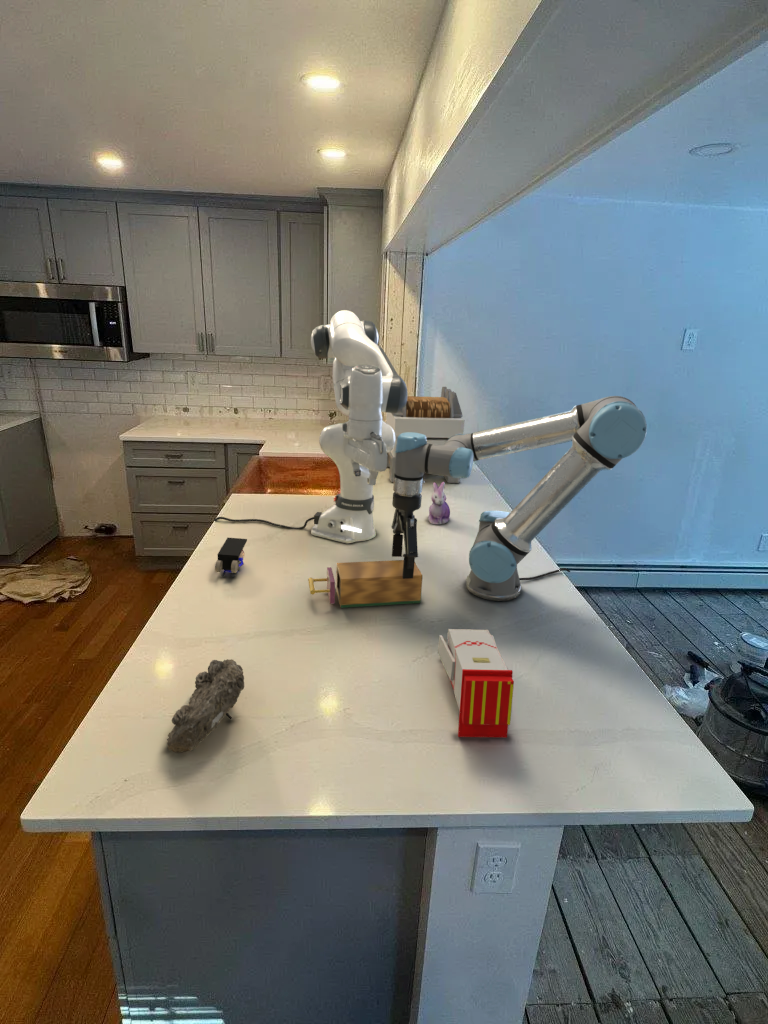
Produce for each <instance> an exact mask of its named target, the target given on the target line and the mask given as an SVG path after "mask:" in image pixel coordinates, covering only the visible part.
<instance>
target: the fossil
mask: <svg viewBox="0 0 768 1024" xmlns="http://www.w3.org/2000/svg"><path fill="white" fill-rule="evenodd" d="M243 670H244V669H243V667H242V665H240V664H237V662H236V661H235V660H234V659H232V658H231V659H227V658H226V659H224V660H223V661H222V660H217V659H212V660H211V661H210V663H209V665H208V666H207V671H201V672H199V673H198V674H197V675H196V676H195V680H194V684H195V685H194V687H195V689H194V690H193V693H192V694H191V697H190V698H189V700H188V704H184V705H182V706H181V707H180V709H177V710H176V711H175V713H174V715H173V716H172V718H171V723H172V724H173V727H172V730H171V731H170V732H168V734H167V738H166V741H167V742H166V745H167V749H168V750H169V751H173V752H174V753H176V754H178V753H182V752H188V751H189V752H192V751H193V750H195V748H196V747H197V746H199V744H200V743H201V742H203V741H204V740H205V739H206V738H207V737H208V736H209V735H210V734H211V733H212V732H214V730H215V729H217V727H218V726H219V724H220V722H221V721H222V720H223V719H224V718H225V716H226V717H227V719H229V720H233V717H232V715H230V714H229V710H230V709H231V708H234V706H235V704H236V703H237V702H238V699H239V697H240V695H241V693H242V691H243V690H245V689H244V688H245V675H244V671H243Z"/></svg>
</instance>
